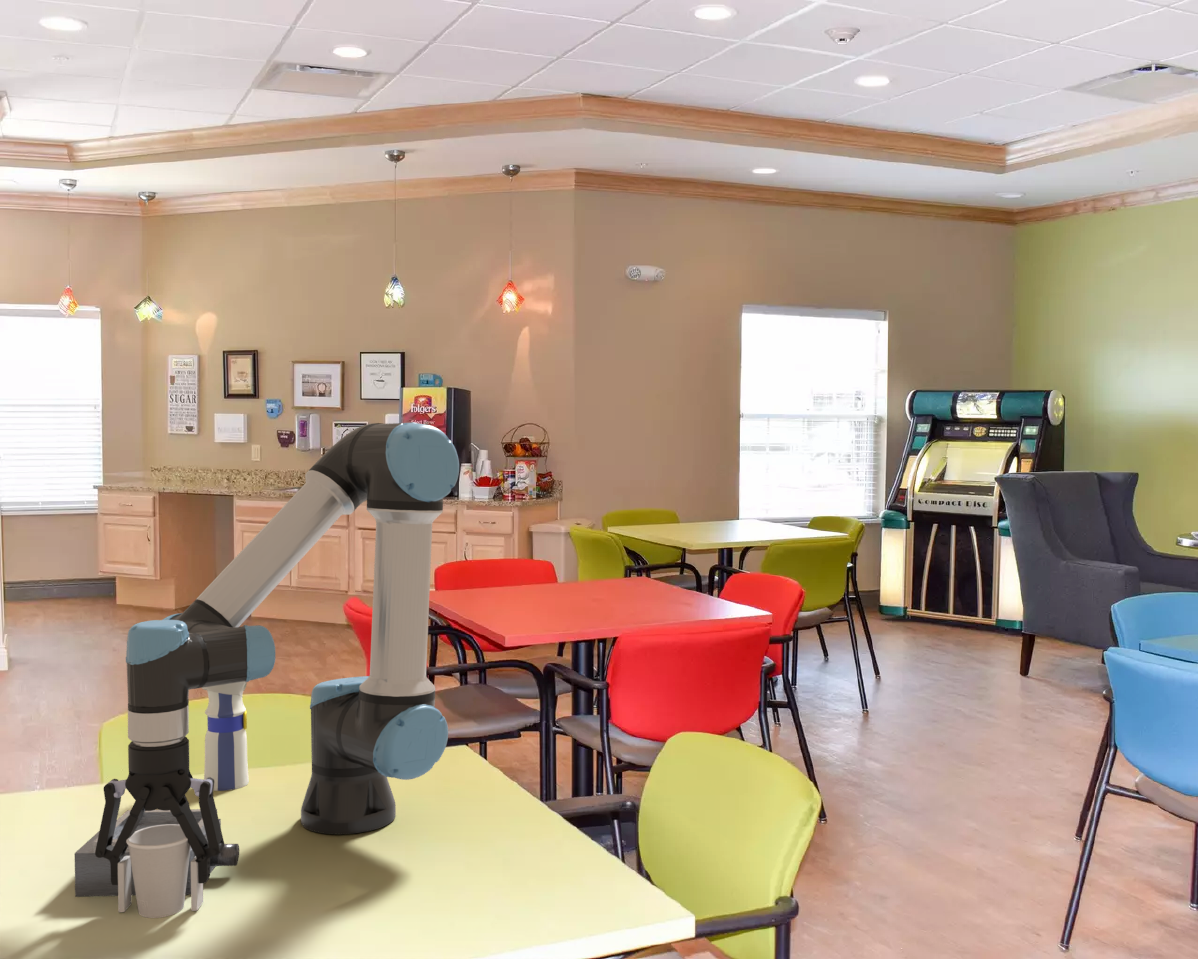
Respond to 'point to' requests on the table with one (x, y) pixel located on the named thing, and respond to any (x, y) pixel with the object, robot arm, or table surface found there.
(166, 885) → the dixie cup
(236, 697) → the white blue vase
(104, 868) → the block
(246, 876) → the table surface
